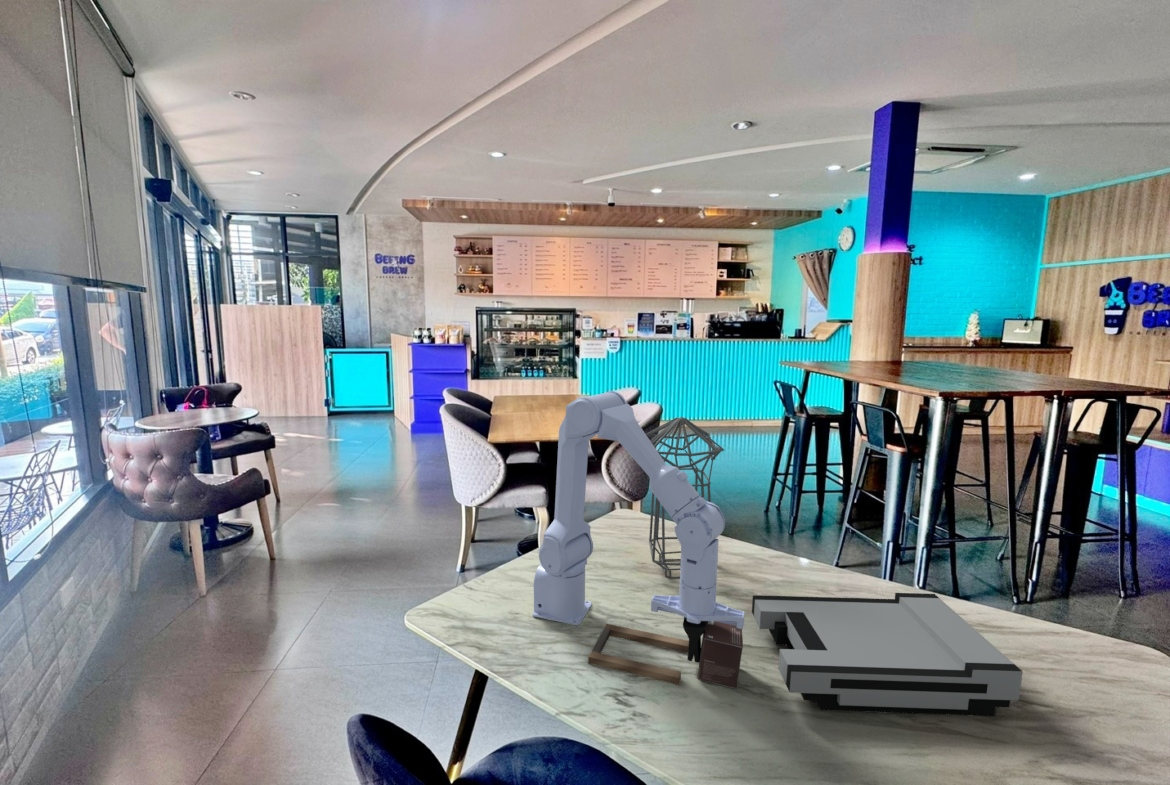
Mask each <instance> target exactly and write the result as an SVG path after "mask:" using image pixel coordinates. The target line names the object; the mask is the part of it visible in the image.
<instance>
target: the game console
mask: <svg viewBox="0 0 1170 785" xmlns="http://www.w3.org/2000/svg"><path fill="white" fill-rule="evenodd" d="M751 601H752V602H751V614H752V616H753V618H754V621H755V622H756V624H757V627H758V628H759V630H768V631H769V633H770V635H771V637H772V639H773V642H774V643H775V645H776V646H786V647H787V648H779V654H778V655H779V657H778V671H779V673H780V676H781V678H782V680H783V682H784V683H785V685H786V687H787V691H788V692H789V694H790V693H794V694H800V695H801V697H802V699H803V701H807V702H811V701H812V702H813V701H814V702H816V704H817V707H818V708H819V710H820V711H831V712H832V711H835V712H858V713H859V712H861V713H862V712H864V713H885V712H886V713H885V714H887V713H888V714H889V713H890V714H891V713H892V714H913V715H914V714H915V715H916V714H919V715H920V714H921V715H941V714H942V716H943V715H946V714H947V715H948V716H967V715H973V716H972V717H975V716H976V717H995V715H996V708H1010V707H1011V706H1010V705H1011V701H1019V700H1020V699H1019V698H1020V692H1021V686H1022V680H1023V678H1022V677H1023V673H1024V672H1023V670H1022V669H1021V668H1020V667H1018V666H1017V665H1016V664H1015V663H1014V662H1013V661H1011V660H1010V659H1009V657H1007V656H1006V655H1005V654H1004V653H1002V651H1001V650H999V649H998V648H997V647H995V646H994V645H993V643H991V642H990V641H989V640H988V639H986V638H985V637H984V636H983V635H982V634H981V633H980V632H979V631H977V629H975V628H974V627H973V626H972V625H971V624H969V622H967V620H965V619H964V618H963V617H961V615H959V614H958V613H957V612H956V611H955V610H953V609H952V608H951V607H950V606H949V605H948V604H947V603H946V602H944V600H942V599H941V598H940V596H939V597H938V595H937V594H936V593H923V592H922V593H917V592H916V593H913V592H910V593H909V592H895V594H894V598H874V597H873V598H872V597H871V598H869V597H868V598H867V597H865V598H863V597H837V596H836V597H833V596H832V597H830V596H829V597H827V596H795V595H789V596H787V595H760V594H759V595H758V594H757V595H754V594H752V600H751ZM947 715H946V716H947Z"/></svg>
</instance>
